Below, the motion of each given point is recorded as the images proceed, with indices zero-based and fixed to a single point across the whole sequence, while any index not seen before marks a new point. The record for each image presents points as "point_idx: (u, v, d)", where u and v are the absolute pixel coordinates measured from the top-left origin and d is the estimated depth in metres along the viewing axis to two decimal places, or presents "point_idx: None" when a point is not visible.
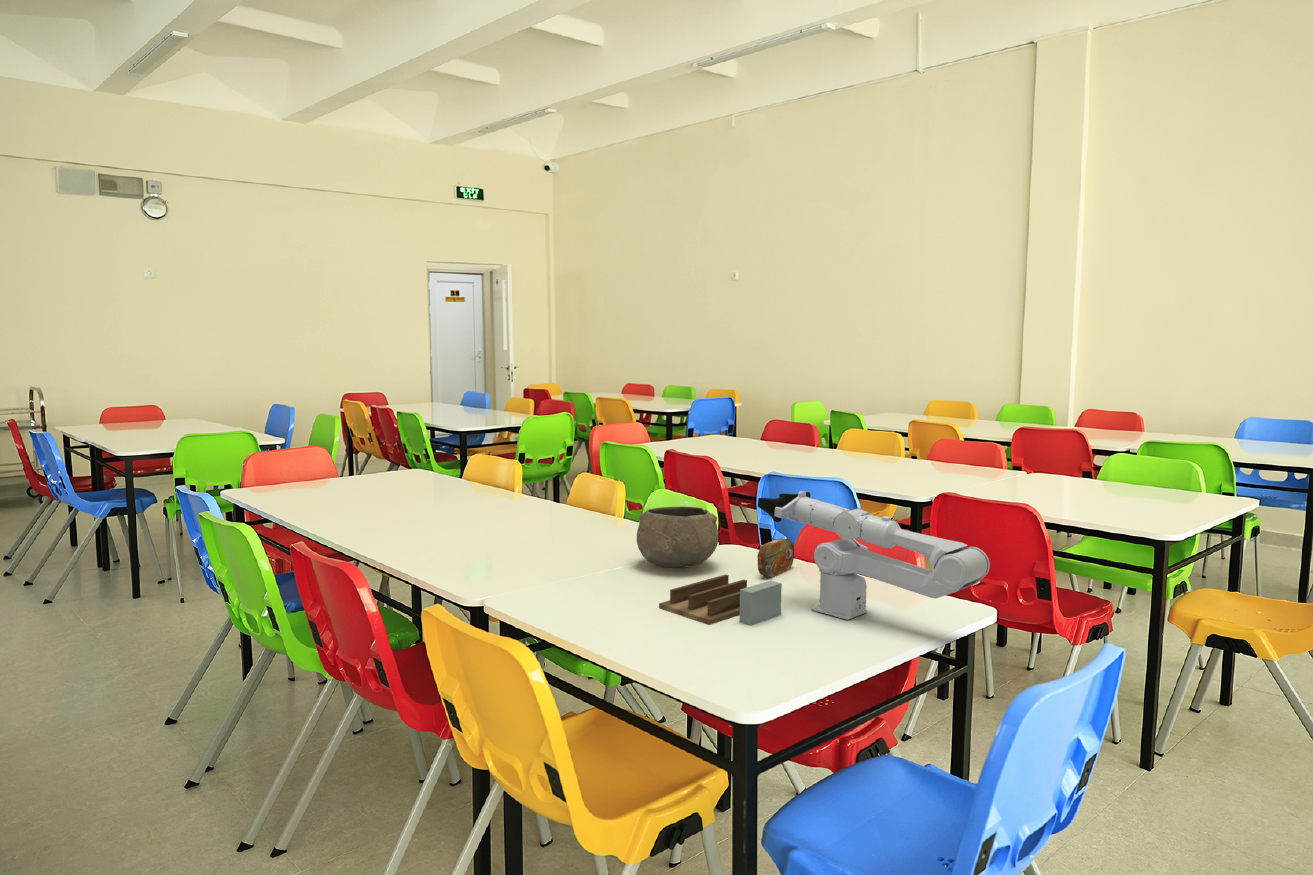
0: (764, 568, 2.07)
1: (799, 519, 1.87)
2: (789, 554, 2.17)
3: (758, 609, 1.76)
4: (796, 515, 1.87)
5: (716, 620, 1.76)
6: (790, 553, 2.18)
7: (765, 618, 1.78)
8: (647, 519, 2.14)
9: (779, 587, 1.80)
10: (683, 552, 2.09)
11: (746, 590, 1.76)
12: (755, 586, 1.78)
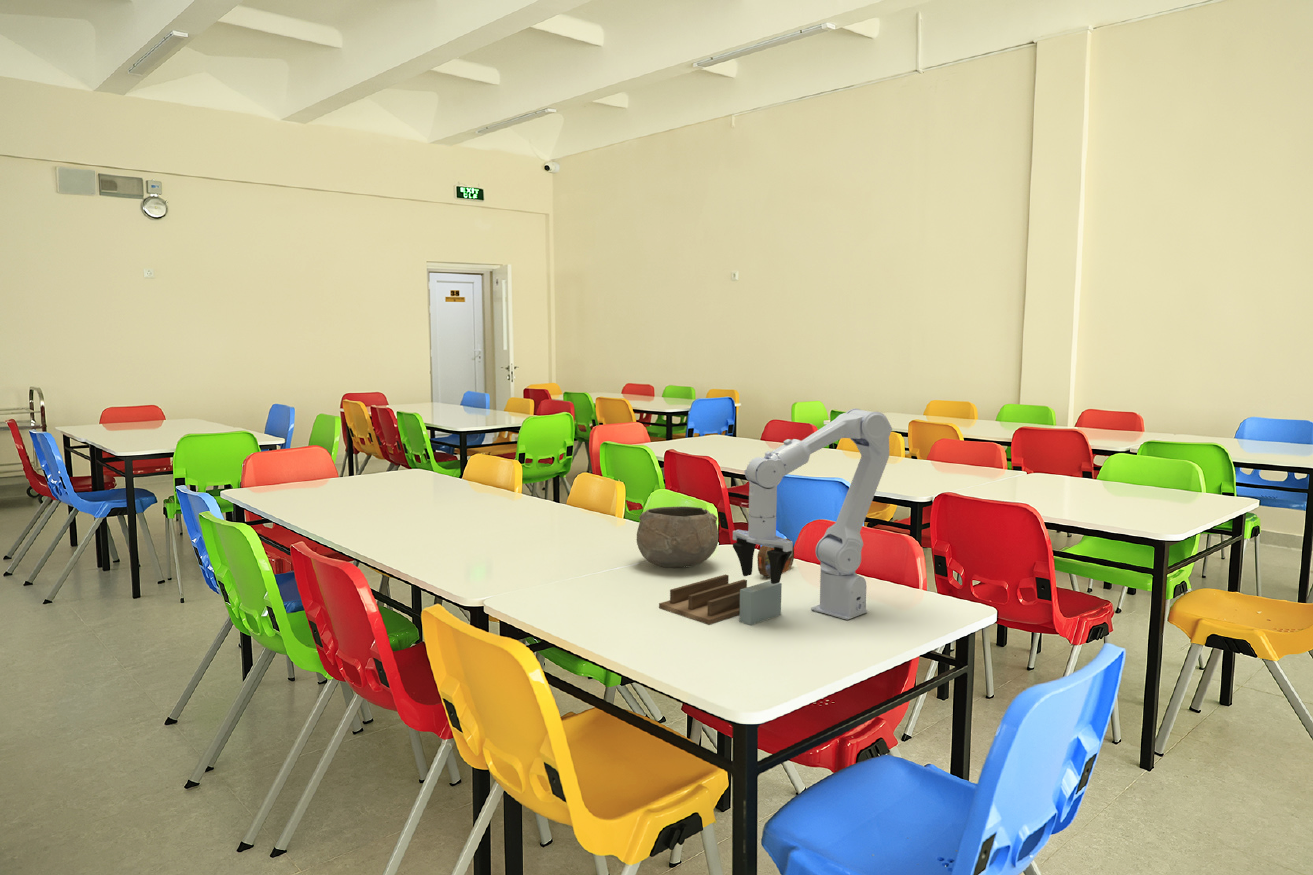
0: (764, 568, 2.07)
1: (775, 530, 1.77)
2: None
3: (758, 609, 1.76)
4: (774, 534, 1.76)
5: (716, 620, 1.76)
6: None
7: (765, 618, 1.78)
8: (647, 519, 2.14)
9: (779, 587, 1.80)
10: (683, 552, 2.09)
11: (746, 590, 1.76)
12: (755, 586, 1.78)
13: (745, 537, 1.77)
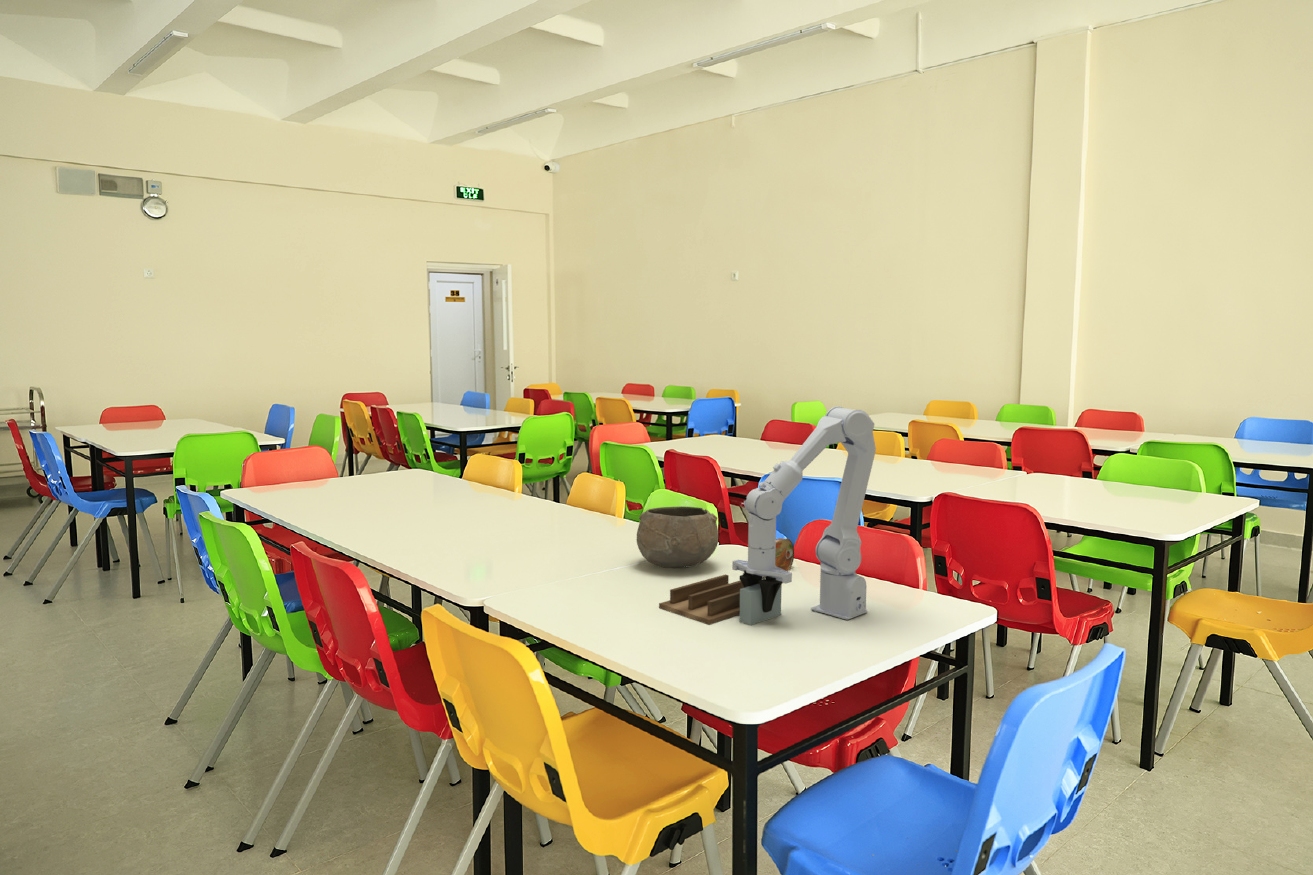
0: None
1: None
2: (789, 554, 2.17)
3: (758, 608, 1.76)
4: (774, 565, 1.77)
5: (716, 620, 1.76)
6: (790, 553, 2.18)
7: (765, 618, 1.78)
8: (647, 519, 2.14)
9: None
10: (683, 552, 2.09)
11: (746, 590, 1.76)
12: (755, 586, 1.78)
13: (745, 568, 1.78)
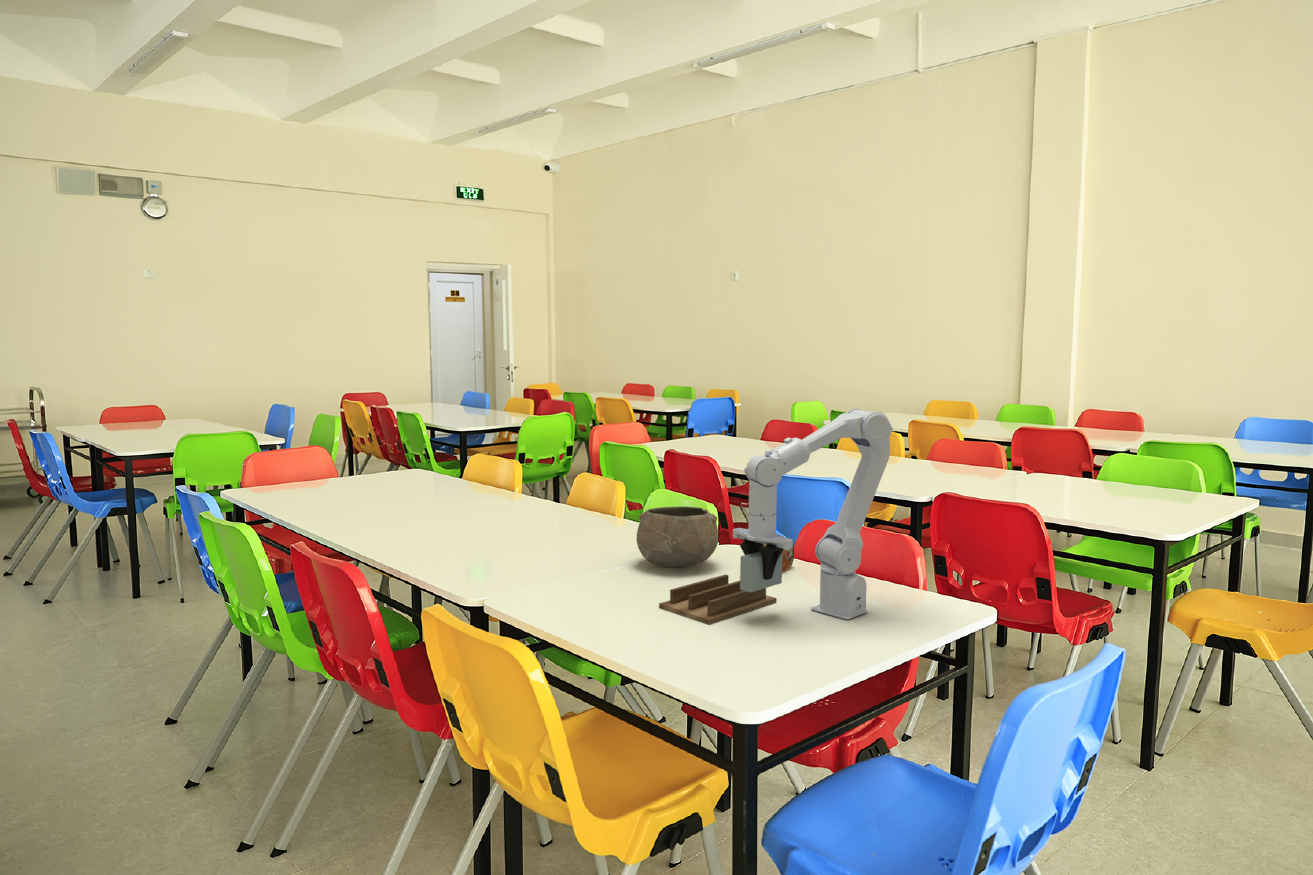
0: None
1: (775, 528, 1.77)
2: (789, 554, 2.17)
3: (758, 575, 1.75)
4: (774, 532, 1.76)
5: (716, 620, 1.76)
6: (790, 553, 2.18)
7: (766, 585, 1.77)
8: (647, 519, 2.14)
9: (780, 555, 1.80)
10: (683, 552, 2.09)
11: (747, 557, 1.75)
12: (756, 553, 1.78)
13: (745, 535, 1.77)
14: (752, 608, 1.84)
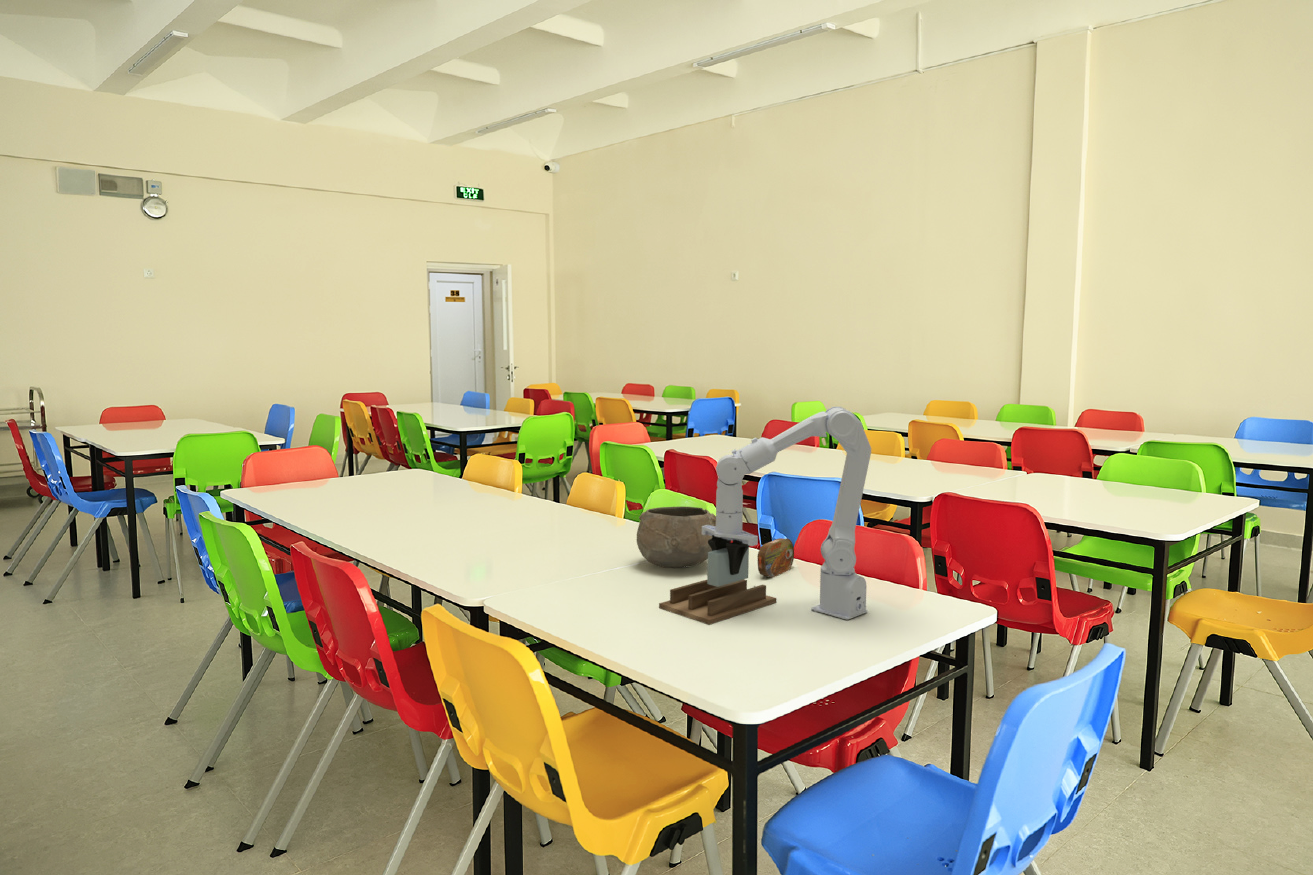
0: (764, 568, 2.07)
1: None
2: (789, 554, 2.17)
3: (725, 571, 1.82)
4: (741, 529, 1.83)
5: (716, 620, 1.76)
6: (790, 553, 2.18)
7: (732, 580, 1.84)
8: (647, 519, 2.14)
9: (746, 551, 1.86)
10: (683, 552, 2.09)
11: (713, 552, 1.81)
12: (723, 549, 1.84)
13: (713, 532, 1.84)
14: (752, 608, 1.84)
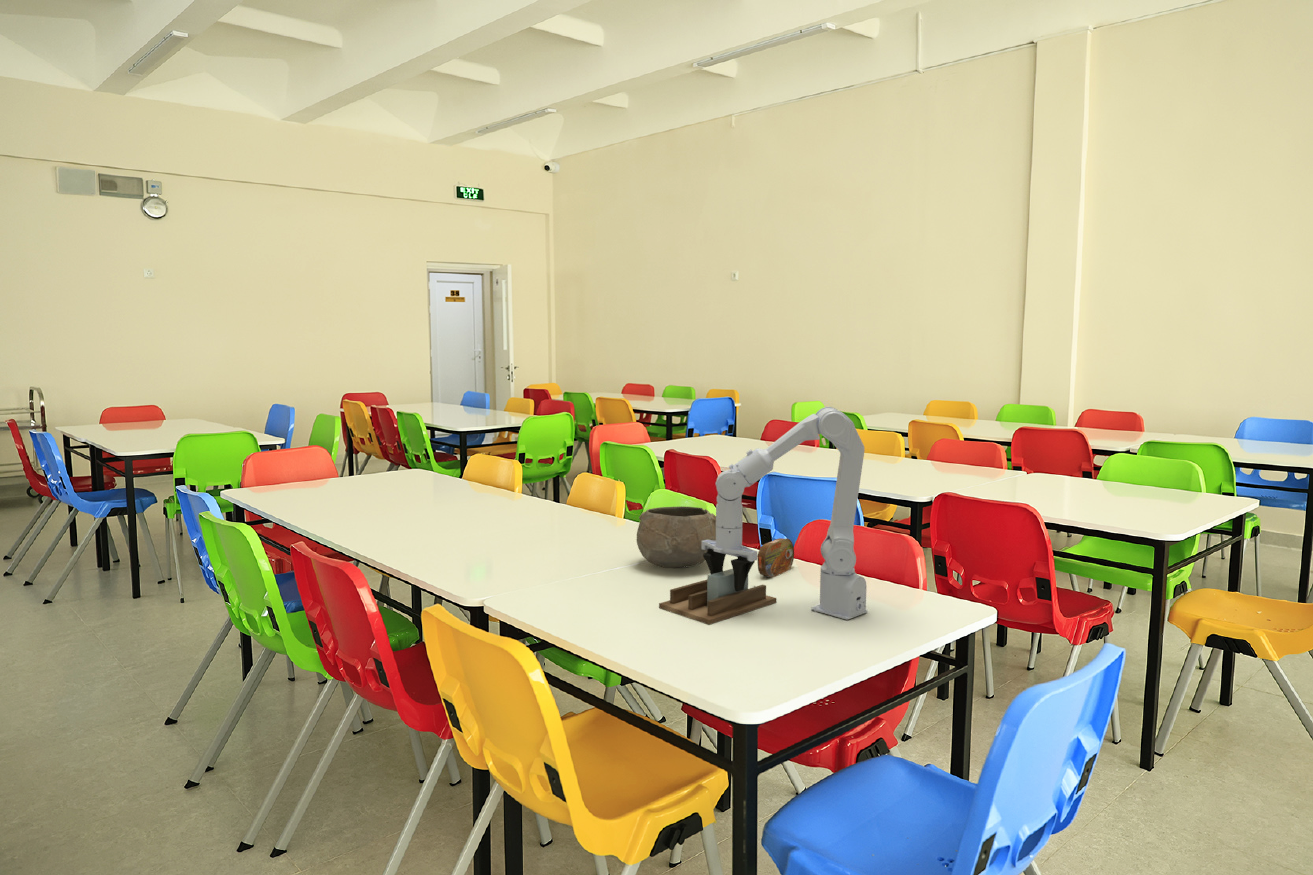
0: (764, 568, 2.07)
1: (741, 540, 1.84)
2: (789, 554, 2.17)
3: (724, 594, 1.82)
4: (740, 544, 1.83)
5: (716, 620, 1.76)
6: (790, 553, 2.18)
7: None
8: (647, 519, 2.14)
9: None
10: (683, 552, 2.09)
11: (713, 576, 1.82)
12: (722, 572, 1.85)
13: (712, 547, 1.85)
14: (752, 608, 1.84)
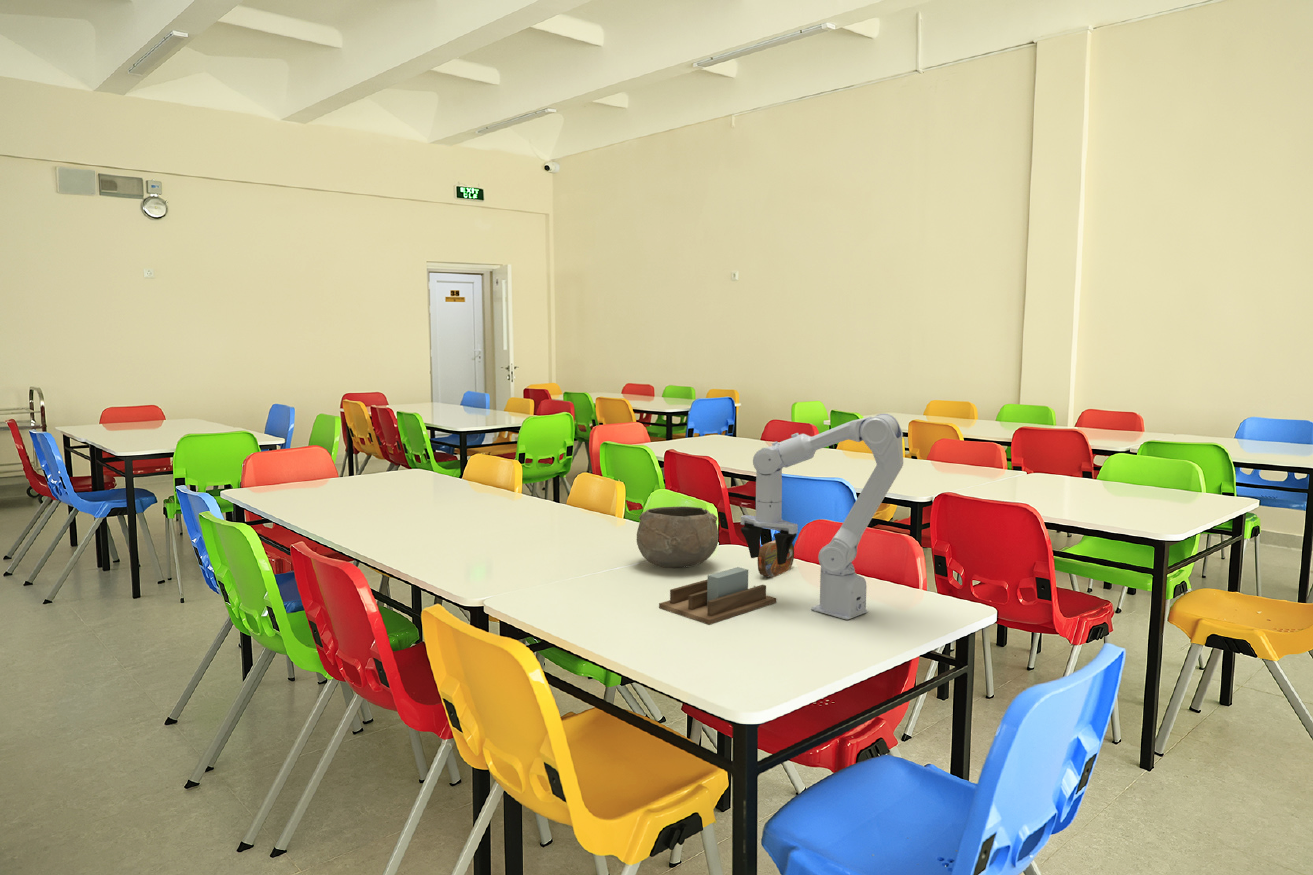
0: (764, 568, 2.07)
1: (781, 514, 1.89)
2: (789, 554, 2.17)
3: (724, 594, 1.82)
4: (780, 518, 1.88)
5: (716, 620, 1.76)
6: (790, 553, 2.18)
7: None
8: (647, 519, 2.14)
9: (746, 573, 1.87)
10: (683, 552, 2.09)
11: (713, 576, 1.82)
12: (722, 572, 1.85)
13: (753, 521, 1.89)
14: (752, 608, 1.84)
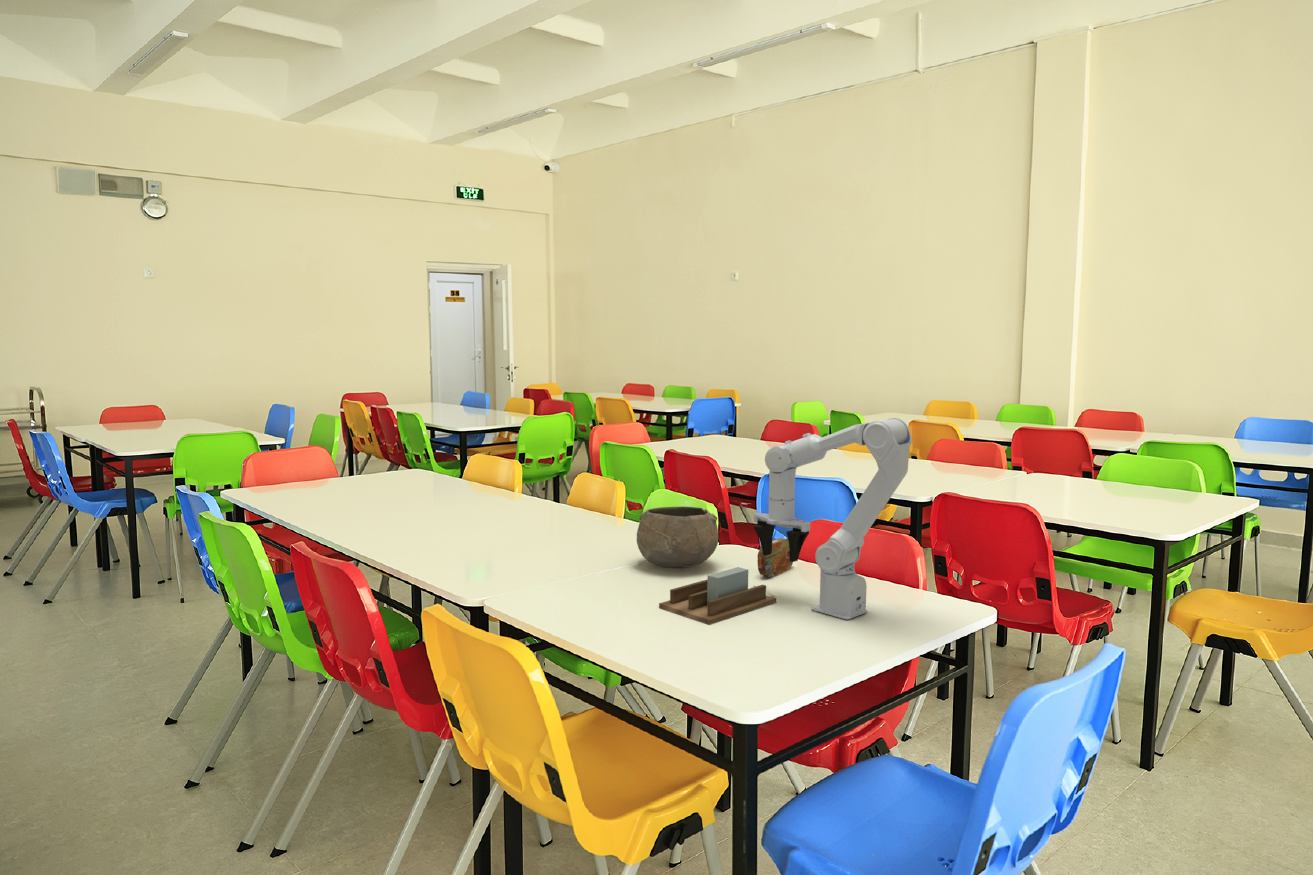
0: (764, 568, 2.07)
1: None
2: None
3: (724, 594, 1.82)
4: (793, 516, 1.90)
5: (716, 620, 1.76)
6: None
7: None
8: (647, 519, 2.14)
9: (746, 573, 1.87)
10: (683, 552, 2.09)
11: (713, 576, 1.82)
12: (722, 572, 1.85)
13: (765, 519, 1.91)
14: (752, 608, 1.84)
